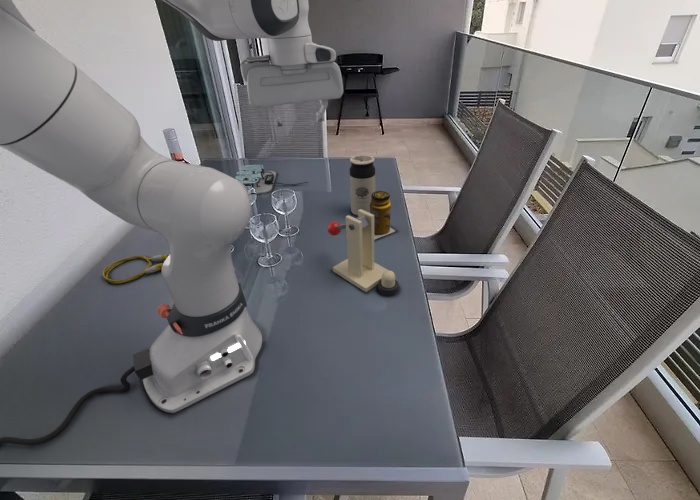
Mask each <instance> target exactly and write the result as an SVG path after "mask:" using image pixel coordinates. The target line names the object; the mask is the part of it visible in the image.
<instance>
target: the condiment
mask: <svg viewBox="0 0 700 500" xmlns="http://www.w3.org/2000/svg"><path fill="white" fill-rule="evenodd" d="M371 197H372V198H371V202H370V213H371V214H373V215H374V241H375V240H377V239H379V238H380V239H381V238H382V237H385V236H388V235H390V234H393V233H396V229H394V228H393V227H391V212H392V211H391V207H392V203H391V201H390V200H391V199H390V197H391V195H390V193H389V192H387V191H385V190H377V191H376V190H375V192H373V193H372V195H371Z"/></svg>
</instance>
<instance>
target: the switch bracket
mask: <svg viewBox="0 0 700 500" xmlns="http://www.w3.org/2000/svg"><path fill="white" fill-rule="evenodd" d="M364 215H365V216H366V219H367V221H368V224H369V225H368V226H366V227H364V228H362V221H360V220H358V219H356V218H357V217H360V216H364ZM357 217H354V216H351V215H350V214H347V215H346V216H345V223H346V228H345V231H346V233H345V234H346V250H347V258H345V259H344V260H343V261H341V262H339V263H337V264H336V265H334V266H332V272H333V273H335V274H336V275H338V276H340V277H341V278H343V279H344V280H345V281H348V282H349V283H350V284H352V285H353V286H355V287H356V288H358V289H360V290H361V291H362V292H365V293H368V292H369V291H371V290H372V289H373V288H374V287H376V286H378V282H379V280H381V279H382V274H383V272H385V271H387V270H388V269H387V268H386V267H384V266H382V265H381V264H378V263H377V262H376V261H375V240H374V215H373V214H371V213H369V212H366V211H364V210H362V209H360V210H358V215H357Z"/></svg>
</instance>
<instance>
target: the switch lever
mask: <svg viewBox="0 0 700 500" xmlns="http://www.w3.org/2000/svg"><path fill="white" fill-rule="evenodd" d="M355 218H356V219H358V220H360V221H362V228H364V227H366V226H368V225H369V224H368V221H367V219H366V216H365V215H364V216H360V217H358V216H357V217H355ZM326 228H327V233H328V234H329V235H331V236H338V235H339V234H340V233H341V231H342V230H346V222H345V223H342V224H341V223H339V222H338V221H334V220H333V221H331V222H329V223H328V225H327V227H326Z"/></svg>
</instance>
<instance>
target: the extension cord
mask: <svg viewBox="0 0 700 500" xmlns="http://www.w3.org/2000/svg"><path fill="white" fill-rule="evenodd" d="M169 255H170V254H158V255H154V256H152V257H146V256H145V255H133V256H128V257H125V258H121V259H119V260H116V261H114V262H112V263H110V264H108V265H107V266H106V267H105V268H104V269H103V270H102V277H103V279H104V280H106V281H107V282H109V283H111V284H114V285H119V284H125V283H129V282H132V281H134V280H137V279H139V278H140V277H142V276H143V275H144V274H146V275H148V274H153V273H154V274H155V273H157V272H159V271H162V266H163V263H162V262H164V261H165V260H166V259H167V257H168V256H169ZM136 259H142V260H146V261H147V262H148V265H147V266H146V268H145V269H144V270H142V272H140V273H138V274H135V275H133V276H129V277H127V278H123V279H118V280H117V279H116V280H115V279H111V278H109V273H110V272H111V271H112V270H113V269H114V268H116V267H118V266H119V265H121V264H124V263H126V262H128V261H132V260H136ZM151 260H152V262H159V263H157V264H154V265H153V264H152V262H151Z"/></svg>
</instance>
